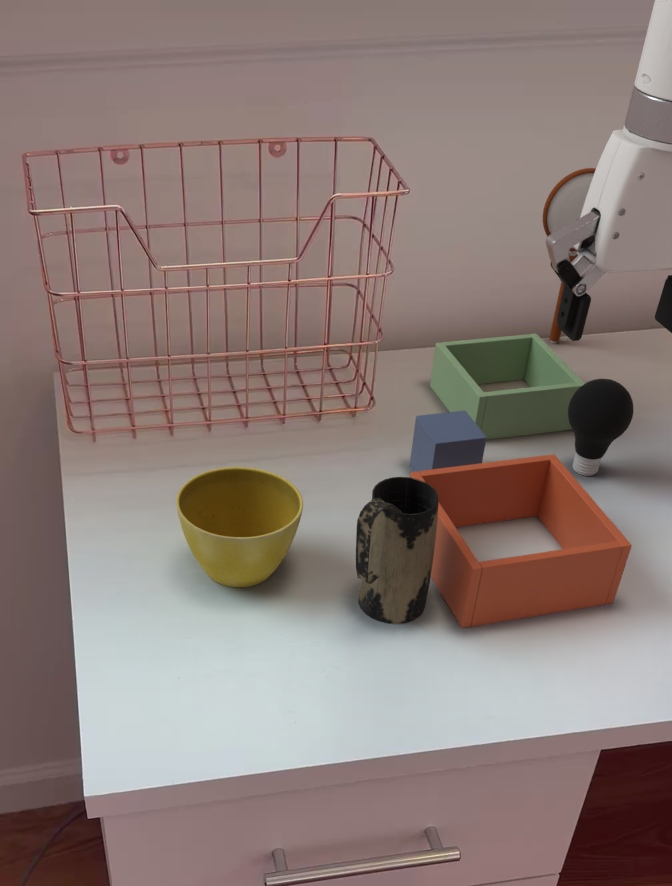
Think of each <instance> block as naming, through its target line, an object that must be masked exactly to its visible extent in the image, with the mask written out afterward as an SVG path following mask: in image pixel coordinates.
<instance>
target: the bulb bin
mask: <svg viewBox="0 0 672 886" xmlns="http://www.w3.org/2000/svg"><path fill="white" fill-rule="evenodd" d="M432 361H433V362H432V368H431V375H430V381H429V386H430V388H431V389H432V390H433V392H434V393H435V394H436V396H437V397H438V399H439V400H440V402H441V403H442V404H443V405H444V407H445V408H446V409H447V411H448V412H455V411H464V410H465V411H466V412H467V413H468V414H469V416H470V417H471V418H472V419H473V421H474V422H475V423H476V425H477V426H478V427H479V428H480V430H481V431H482V432H483V434H484V435H485V436H486V441H489V440H496V439H504V438H513V437H520V436H521V437H522V436H529V435H530V436H531V435H538V434H546V433H547V434H548V433H555V432H564V431H570V430H571V431H573V429H572V427H571V425H570V423H569V419H568V407H569V403H570V400H571V398H572V396H573V395H574V393H575V392H576V391H577V390H578V389H579V387H581V386H582V385H584V384H585V383H586V382H584V380H582V378H581V377H580V376H579V375H577V373H575V372H574V370H573V369H571V368H570V367H569V365H568V364H566V362H564V361H563V359H562V358H560V356H559V355H558V354H557V353H556V352H555V351H554V350H553V349H552V348H551V347H550V346H549V345H548V344H547V343H546V341H544V340H543V339H542V338H541V337H540V336H539V334H537V333H527V334H516V335H507V336H505V335H504V336H496V337H495V336H493V337H485V338H484V337H483V338H475V339H463V340H462V339H461V340H453V341H443V342H441V341H440V342H436V343H435V348H434V354H433V360H432ZM522 380H523V381H524V382H525V383H526V384H527V385H528V386H529V387H519V388H512V389H511V388H510V389H502V390H493V391H492V390H491V391H484V390H483V389H482V388H481V387H480V386H479V385H483V384H484V385H485V384H493V383H494V384H495V383H503V382H504V383H505V382H514V381H522Z"/></svg>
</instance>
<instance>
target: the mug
mask: <svg viewBox="0 0 672 886" xmlns="http://www.w3.org/2000/svg"><path fill="white" fill-rule="evenodd" d="M371 495H372V496H371V500H370V501H369V502H367V503H366V504H365V505H364V506H363V508H362V509H361V510H360V512H359V515H358V517H357V519H356V536H355V537H356V538H355V570H356V575H357V579H359V580H361V583H360V586H359V587H360V588H359V592H358V596H357V597H358V598H357V600H358V601H357V603H358V605H359V608H360V609H361V611H362V612H363V613H364V614H365V615H366V616H368V617H369V618H370V619H372V620H374V621H377V622H380V623H384V624H390V625H400V624H401V625H402V624H406V623H410V622H413V621H415V620H416V619H418V618H420V617H421V615H422V614H423V613H424V610H425V608H426V604H427V598H428V595H429V590H430V582H431V570H432V564H433V557H434V549H435V540H436V530H437V521H438V502H439V498H438V494H437V492H436V490H435V489H434V488H433V487H432V486H431V485H429V484H427V483H426V482H424V481H421V480H418V479H415V478H410V476H409V477H408V476H394V477H388V478H385V479H382V480H381V481H378V483H377V484H375V485H374V487H373V488H372V492H371Z"/></svg>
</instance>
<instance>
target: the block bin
mask: <svg viewBox="0 0 672 886" xmlns="http://www.w3.org/2000/svg"><path fill="white" fill-rule="evenodd" d="M409 477H410V478H415V479H418V480H421V481H424V482H426V483H427V484H429V485H431V486H432V487H433V488H434V489H435V490H436V492H437V494H438V498H439V502H438V521H437V530H436V540H435V549H434V557H433V564H432V570H431V577H430V579H432V582H433V583H434V584H435V586H436V588H437V590H438V592H439V593H440V595H441V596H442V598H443V600H444V601H445V603H446V605H447V606H448V608H449V609H450V611H451V613H452V615H453V616H454V619H456V621H457V623H458V625H459V627H460V628H461V629H465V628H472V627H478V626H484V625H490V624H496V623H501V622H508V621H514V620H520V619H526V618H532V617H537V616H544V615H550V614H557V613H563V612H568V611H573V610H574V611H575V610H580V609H587V608H592V607H597V606H598V607H599V606H603V605H610V604H614V602H615V599H616V596H617V592H618V590H619V586H620V584H621V580H622V577H623V575H624V571H625V568H626V565H627V563H628V559H629V557H630V556H629V555H630V552H631V550H632V544H631V543H630V541H629V540H628V539H627V538H626V536H625V535H624V534H623V533H622V531H621V530H620V529H619V528H618V527H617V526H616V524H615V523H614V522H613V521H612V520H611V519H610V518H609V517H608V515H607V514H606V513H605V512H604V510H603V509H602V508H601V507H600V506H599V505H598V503H596V501H595V500H594V499H593V497H592V496H591V495H590V494H589V493H588V492H587V490H585V488H584V487H583V486H582V485H581V484H580V482H579V481H578V480H577V479H576V477H574V475H573V474H572V473H571V472H570V470H568V469H567V467H566V466H565V464H563V462H561V460H560V459H559V458H558V457H557V455H556V454H554V453H553V454H544V455H535V456H527V457H521V458H511V459H503V460H497V461H488V462H482V463H480V464H472V465H464V466H456V467H448V468H440V469H432V470H424V471H419V472H418V471H417V472H414V471H410V473H409ZM530 517H537V518H538V519H539V520H540V522H541V523H542V524H543V525H544V526H545V529H546V530H547V531H548V532H549V533H550V535H551V536H552V537H553V539H554V540H555V542H557V544H558V545H559V546H560V548H561V549H555V550H549V551H542V552H536V553H529V554H522V555H515V556H508V557H503V558H497V559H489V560H482V561H479V560H478V559H477V557H476V556H475V555H474V553H473V552H472V550H471V548H470V547H469V546H468V544H467V543H466V541H465V540H464V538H463V536H462V534H461V533H460V532H459V531H458V529H457V528H459V527H460V528H461V527H467V526H475V525H481V524H489V523H497V522H503V521H504V522H505V521H509V520H518V519H525V518H530Z"/></svg>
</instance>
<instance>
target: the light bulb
mask: <svg viewBox="0 0 672 886" xmlns="http://www.w3.org/2000/svg"><path fill="white" fill-rule="evenodd" d="M584 383H585V384H584V385H582V386H581V387H579V389H578V390H577V391H576V392H575V393H574V395H573V396H572V398H571V400H570V403H569V407H568V419H569V423H570V425H571V427H572V431H573V433H574V434H573V435H574V452H575V454H574V457H573V462H572V468H573V470H574V472H575V473H577V474H579V475H581V476H585V477H589V476H593V475H596V474H597V473H598V471H599V469H600V465H601V461H602V458H603V457H604V456H605V454H606V453H607V451H608V449H609V447H610V446H611V444H612V443H613V442H614V441H615V440H616V439H618V438H619V437H621V436H622V435H623V434H625V432H626V431H627V430H628V428H629V427H630V425H631V423H632V420H633V418H634V400H633V398H632V396H631V394H630V392H629V391H628V389H627V388H626V387H625V386H623V385H622V384H621V383H619V382H618V381H616V380H613V379H610V378H596V379H592V380H589V381H586V382H584Z"/></svg>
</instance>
